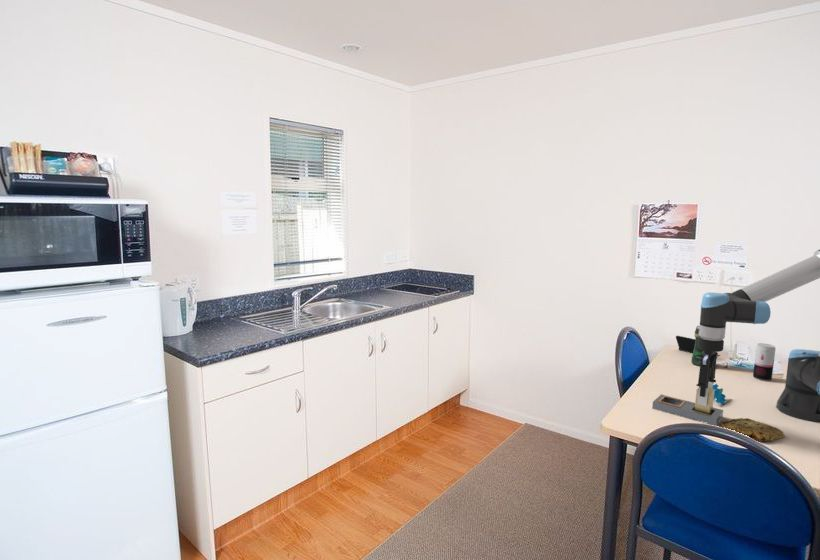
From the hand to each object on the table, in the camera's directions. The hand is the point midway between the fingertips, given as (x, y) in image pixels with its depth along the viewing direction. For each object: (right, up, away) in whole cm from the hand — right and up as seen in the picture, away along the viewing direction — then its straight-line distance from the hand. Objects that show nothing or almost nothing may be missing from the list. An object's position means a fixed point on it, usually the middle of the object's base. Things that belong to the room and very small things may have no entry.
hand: (704, 402), depth 163 cm
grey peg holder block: (-4, -5, +4) cm, 7 cm away
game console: (+45, +4, +77) cm, 90 cm away
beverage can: (+51, -1, +40) cm, 65 cm away
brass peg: (0, -5, +1) cm, 5 cm away
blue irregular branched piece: (+14, -4, +16) cm, 21 cm away
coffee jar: (+36, +2, +58) cm, 69 cm away
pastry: (+10, -8, -9) cm, 15 cm away
